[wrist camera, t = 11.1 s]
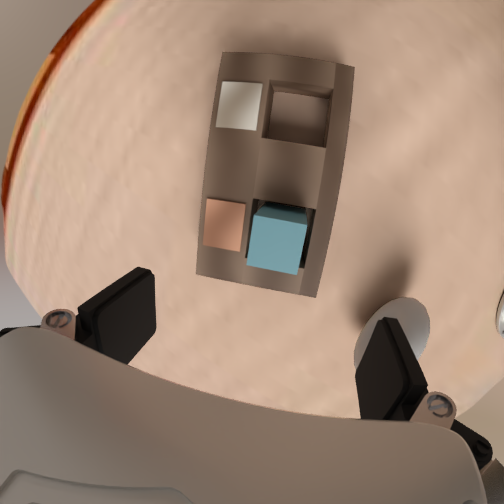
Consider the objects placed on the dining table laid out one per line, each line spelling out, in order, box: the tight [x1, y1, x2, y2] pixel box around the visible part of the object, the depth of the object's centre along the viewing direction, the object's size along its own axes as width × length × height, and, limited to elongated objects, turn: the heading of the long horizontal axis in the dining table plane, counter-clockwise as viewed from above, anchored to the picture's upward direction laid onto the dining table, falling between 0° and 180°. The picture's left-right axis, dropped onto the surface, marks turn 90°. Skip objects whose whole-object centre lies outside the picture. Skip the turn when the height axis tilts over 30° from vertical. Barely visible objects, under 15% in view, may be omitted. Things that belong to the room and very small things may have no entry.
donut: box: [354, 297, 430, 370], centre depth 24 cm, size 10×3×10 cm, turn 147°
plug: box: [246, 202, 307, 275], centre depth 24 cm, size 4×4×8 cm
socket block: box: [196, 52, 355, 298], centre depth 24 cm, size 12×22×4 cm, turn 173°
